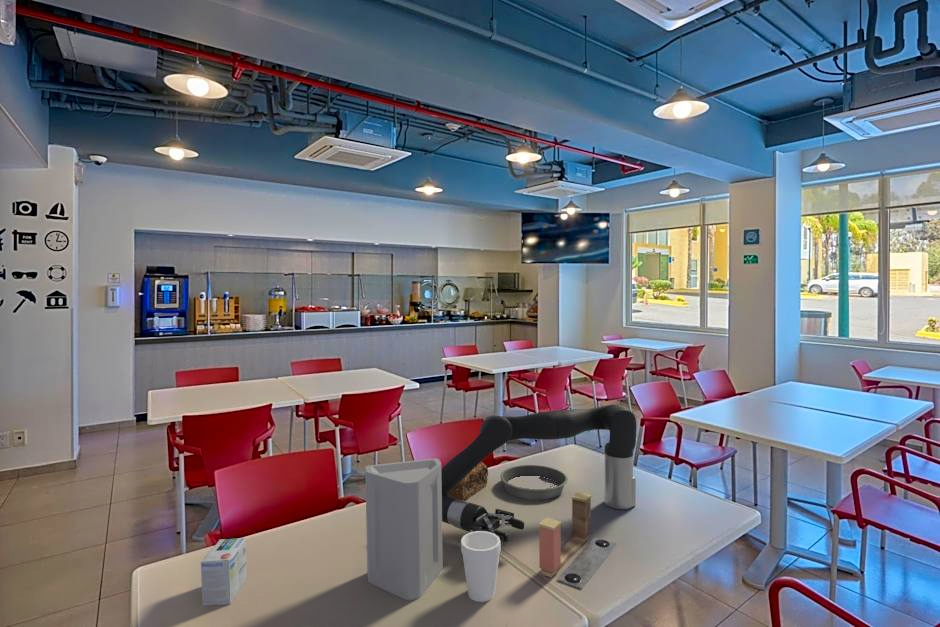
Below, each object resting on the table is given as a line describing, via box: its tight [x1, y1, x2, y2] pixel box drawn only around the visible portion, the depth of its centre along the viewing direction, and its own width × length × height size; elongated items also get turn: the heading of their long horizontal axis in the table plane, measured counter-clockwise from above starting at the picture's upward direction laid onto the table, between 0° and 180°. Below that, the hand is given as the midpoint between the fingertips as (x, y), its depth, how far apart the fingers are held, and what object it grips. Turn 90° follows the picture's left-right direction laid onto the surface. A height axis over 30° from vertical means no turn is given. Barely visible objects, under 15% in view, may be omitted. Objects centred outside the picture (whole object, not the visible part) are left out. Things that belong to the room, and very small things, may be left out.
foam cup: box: [460, 531, 502, 603], centre depth 117 cm, size 10×9×13 cm
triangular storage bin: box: [364, 457, 444, 601], centre depth 122 cm, size 19×15×28 cm
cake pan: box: [499, 464, 569, 501], centre depth 180 cm, size 25×25×4 cm
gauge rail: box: [540, 491, 592, 579], centre depth 134 cm, size 25×4×13 cm, turn 145°
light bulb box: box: [200, 537, 248, 607], centre depth 119 cm, size 11×7×11 cm, turn 5°
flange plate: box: [556, 537, 617, 589], centre depth 131 cm, size 25×6×1 cm, turn 145°
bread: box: [447, 461, 489, 501], centre depth 177 cm, size 19×11×10 cm, turn 149°
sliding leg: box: [538, 517, 562, 573], centre depth 126 cm, size 4×4×12 cm
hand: (515, 532), depth 131 cm, fingers open, 8 cm apart
